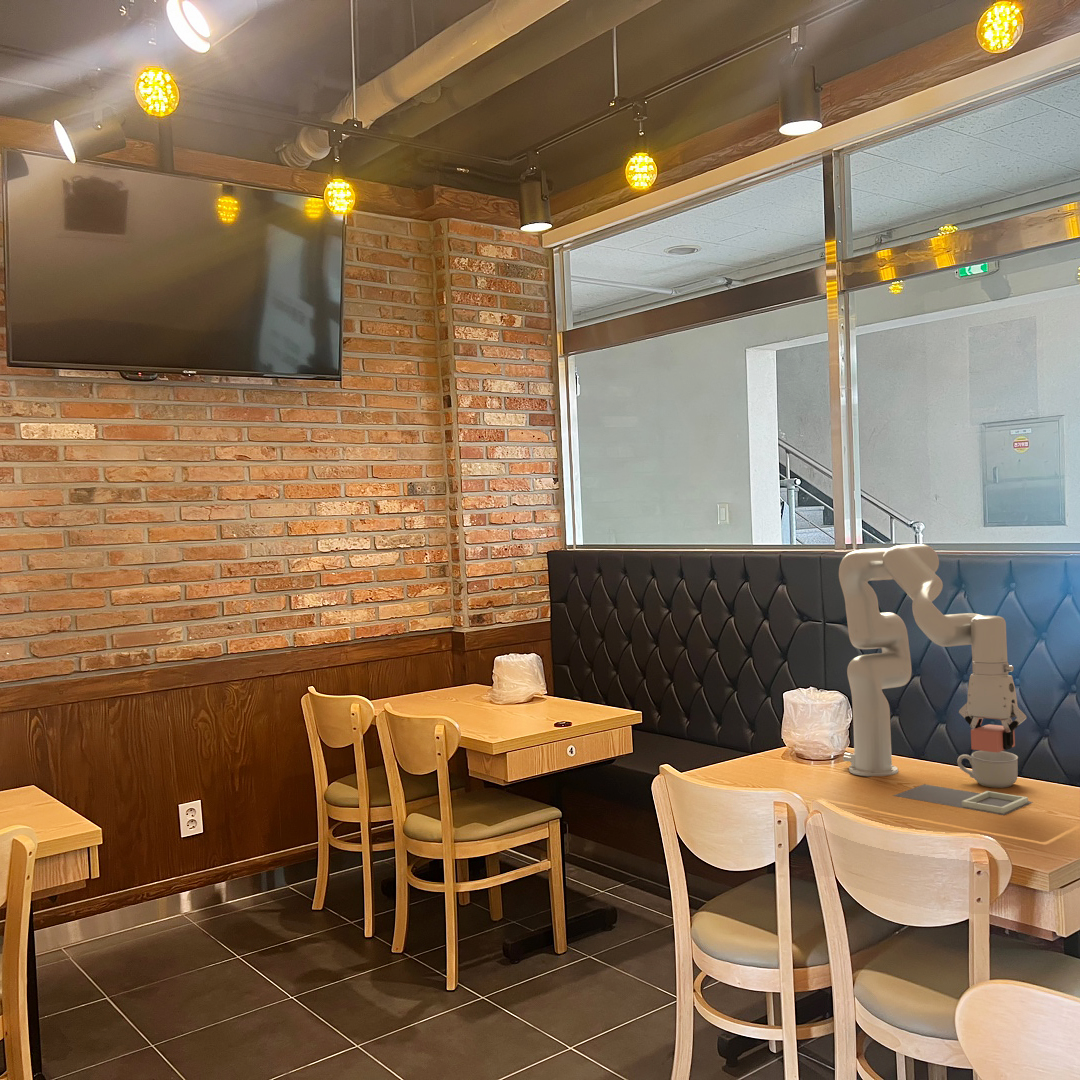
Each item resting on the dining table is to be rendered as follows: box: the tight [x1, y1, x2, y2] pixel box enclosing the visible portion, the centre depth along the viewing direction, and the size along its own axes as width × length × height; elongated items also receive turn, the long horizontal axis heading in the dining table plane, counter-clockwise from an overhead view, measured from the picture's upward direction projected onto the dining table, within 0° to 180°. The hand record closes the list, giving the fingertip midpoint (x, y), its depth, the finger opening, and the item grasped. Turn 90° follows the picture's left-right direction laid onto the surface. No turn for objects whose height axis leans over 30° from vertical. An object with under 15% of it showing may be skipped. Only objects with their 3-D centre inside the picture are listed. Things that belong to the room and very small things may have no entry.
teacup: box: [956, 750, 1019, 789], centre depth 257 cm, size 14×11×8 cm
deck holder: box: [962, 790, 1029, 814], centre depth 238 cm, size 10×13×1 cm
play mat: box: [892, 783, 1034, 816], centre depth 244 cm, size 27×15×1 cm, turn 41°
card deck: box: [970, 723, 1016, 753], centre depth 238 cm, size 9×6×4 cm, turn 131°
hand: (993, 746), depth 238 cm, fingers closed on card deck, 6 cm apart
